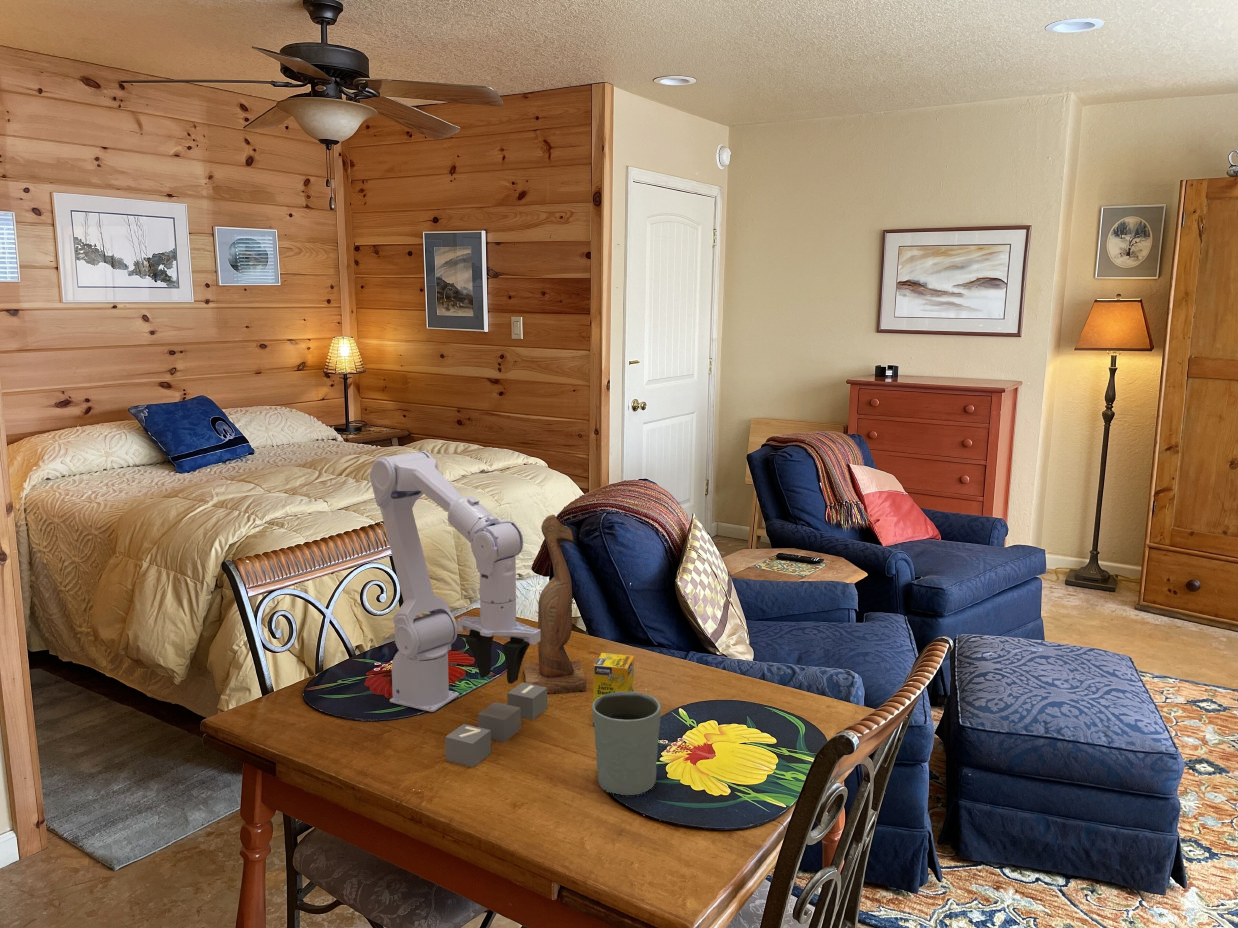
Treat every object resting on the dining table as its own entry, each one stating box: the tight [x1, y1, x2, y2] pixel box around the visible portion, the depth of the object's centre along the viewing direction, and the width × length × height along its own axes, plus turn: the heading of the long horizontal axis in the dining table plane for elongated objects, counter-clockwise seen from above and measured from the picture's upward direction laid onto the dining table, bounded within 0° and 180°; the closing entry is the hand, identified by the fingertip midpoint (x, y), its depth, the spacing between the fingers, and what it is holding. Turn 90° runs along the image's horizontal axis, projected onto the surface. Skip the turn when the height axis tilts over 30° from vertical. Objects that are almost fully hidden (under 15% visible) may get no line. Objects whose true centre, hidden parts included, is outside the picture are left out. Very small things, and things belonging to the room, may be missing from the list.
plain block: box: [477, 701, 522, 743], centre depth 150 cm, size 5×5×4 cm
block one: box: [506, 682, 548, 721], centre depth 158 cm, size 5×5×4 cm
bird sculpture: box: [522, 514, 587, 695], centre depth 169 cm, size 11×12×32 cm
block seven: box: [444, 723, 492, 768], centre depth 142 cm, size 5×5×4 cm
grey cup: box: [591, 691, 662, 795], centre depth 135 cm, size 10×10×12 cm
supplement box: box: [592, 652, 635, 728], centre depth 154 cm, size 6×6×11 cm
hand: (499, 678), depth 149 cm, fingers open, 5 cm apart
